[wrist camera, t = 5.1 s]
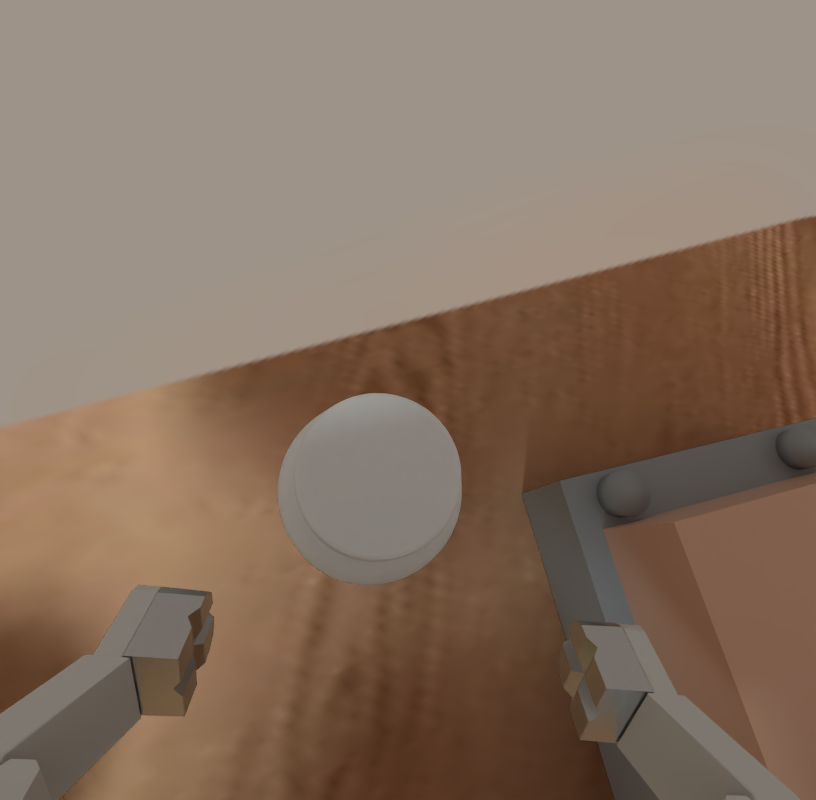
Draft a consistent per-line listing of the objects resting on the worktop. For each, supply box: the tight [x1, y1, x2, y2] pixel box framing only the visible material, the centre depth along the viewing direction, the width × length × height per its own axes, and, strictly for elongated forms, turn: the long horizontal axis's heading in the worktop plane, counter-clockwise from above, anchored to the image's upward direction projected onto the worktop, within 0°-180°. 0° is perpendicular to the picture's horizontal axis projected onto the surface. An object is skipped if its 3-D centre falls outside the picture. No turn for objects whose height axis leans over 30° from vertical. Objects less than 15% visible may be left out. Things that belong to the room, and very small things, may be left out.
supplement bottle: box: [278, 393, 462, 585], centre depth 16 cm, size 5×5×10 cm
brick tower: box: [522, 418, 816, 800], centre depth 17 cm, size 14×12×8 cm
